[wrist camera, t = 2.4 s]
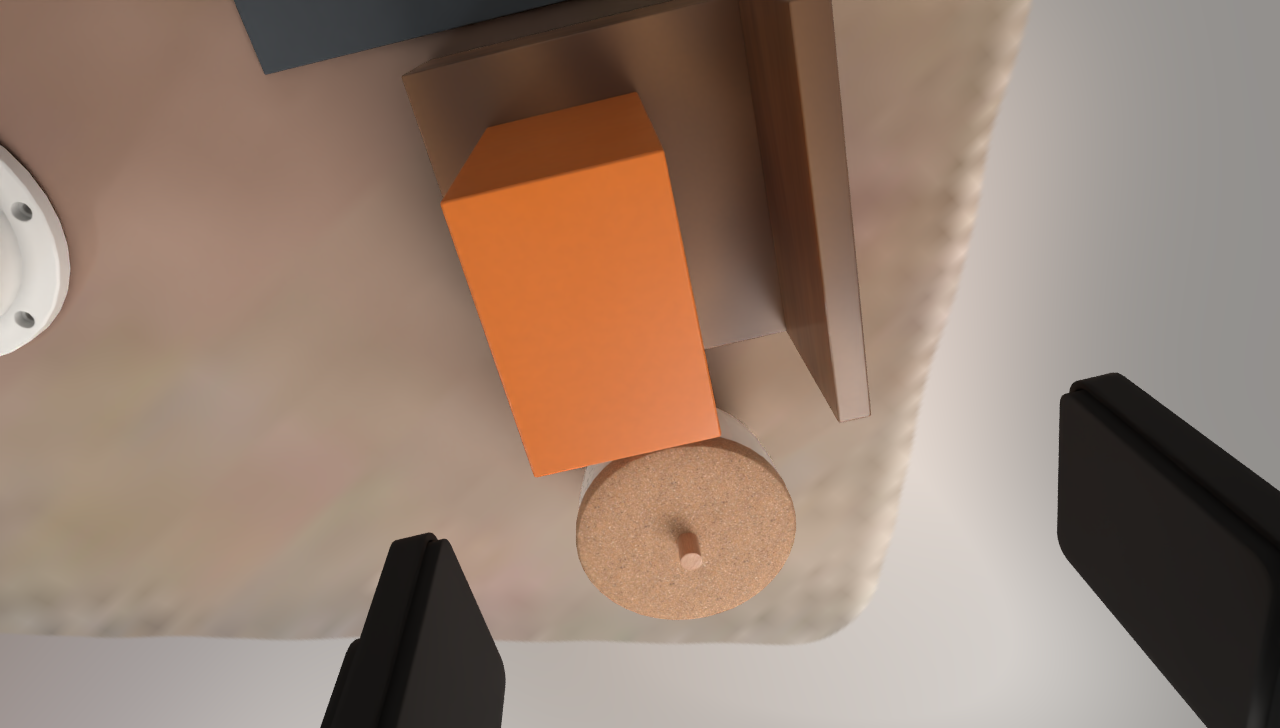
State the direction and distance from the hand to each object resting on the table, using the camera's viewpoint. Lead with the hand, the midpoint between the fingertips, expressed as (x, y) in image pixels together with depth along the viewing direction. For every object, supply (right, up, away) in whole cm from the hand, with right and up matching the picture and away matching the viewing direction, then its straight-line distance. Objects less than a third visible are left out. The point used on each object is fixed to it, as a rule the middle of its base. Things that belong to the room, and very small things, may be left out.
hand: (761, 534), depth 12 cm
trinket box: (0, -2, +33) cm, 33 cm away
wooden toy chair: (-3, +12, +25) cm, 28 cm away
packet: (-4, +8, +20) cm, 22 cm away
